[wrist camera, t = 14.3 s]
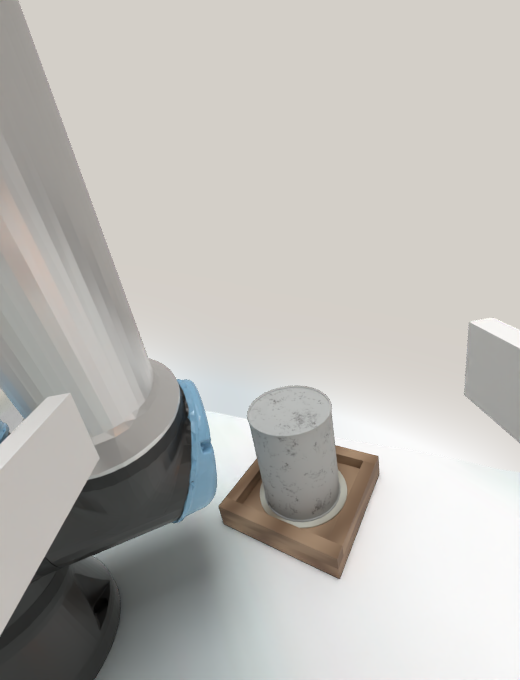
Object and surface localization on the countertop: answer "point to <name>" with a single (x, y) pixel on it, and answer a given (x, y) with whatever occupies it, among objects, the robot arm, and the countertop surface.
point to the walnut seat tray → (313, 536)
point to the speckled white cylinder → (296, 451)
